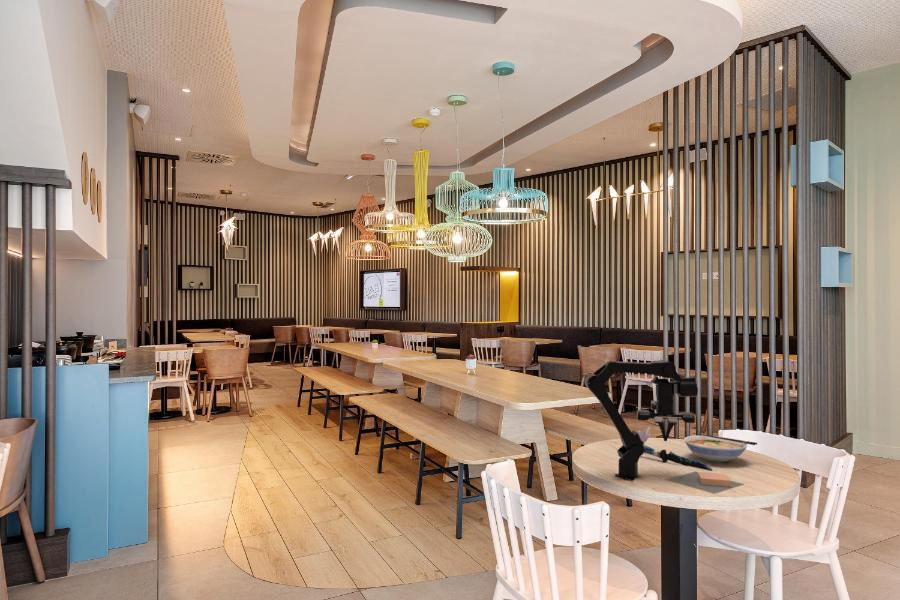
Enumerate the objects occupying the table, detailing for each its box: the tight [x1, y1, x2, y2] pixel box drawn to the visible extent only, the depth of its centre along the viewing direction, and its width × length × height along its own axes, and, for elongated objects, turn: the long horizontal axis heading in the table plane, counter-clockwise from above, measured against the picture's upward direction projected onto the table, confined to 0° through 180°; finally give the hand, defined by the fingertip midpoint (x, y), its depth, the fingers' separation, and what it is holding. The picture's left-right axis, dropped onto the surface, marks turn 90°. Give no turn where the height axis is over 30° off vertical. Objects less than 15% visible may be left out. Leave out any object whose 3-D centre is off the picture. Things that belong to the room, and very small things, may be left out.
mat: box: [664, 471, 745, 494], centre depth 193 cm, size 18×18×1 cm
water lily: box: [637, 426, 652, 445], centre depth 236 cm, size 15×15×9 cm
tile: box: [697, 471, 732, 487], centre depth 192 cm, size 2×8×9 cm
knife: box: [643, 444, 714, 472], centre depth 218 cm, size 31×3×4 cm, turn 38°
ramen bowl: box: [683, 432, 758, 463], centre depth 224 cm, size 25×23×8 cm
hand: (665, 440), depth 199 cm, fingers closed
